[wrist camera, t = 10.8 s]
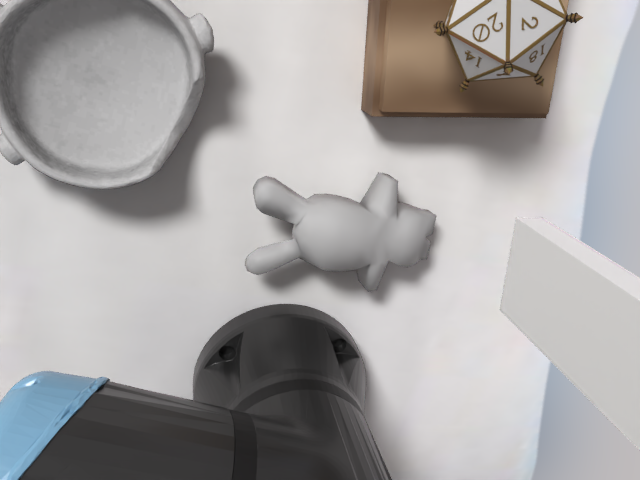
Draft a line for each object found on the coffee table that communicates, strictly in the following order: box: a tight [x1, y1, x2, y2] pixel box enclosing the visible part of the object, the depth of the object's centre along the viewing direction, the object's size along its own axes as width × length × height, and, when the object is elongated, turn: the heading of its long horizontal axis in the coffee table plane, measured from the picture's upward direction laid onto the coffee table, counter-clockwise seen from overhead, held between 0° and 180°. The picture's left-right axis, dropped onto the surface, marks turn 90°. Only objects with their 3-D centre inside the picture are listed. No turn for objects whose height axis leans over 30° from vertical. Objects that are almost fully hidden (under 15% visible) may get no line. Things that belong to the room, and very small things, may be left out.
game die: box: [433, 0, 583, 93], centre depth 38 cm, size 9×8×10 cm
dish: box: [0, 0, 214, 189], centre depth 40 cm, size 14×14×5 cm
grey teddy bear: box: [245, 172, 436, 292], centre depth 47 cm, size 10×5×15 cm
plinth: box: [361, 0, 569, 118], centre depth 43 cm, size 14×14×4 cm
